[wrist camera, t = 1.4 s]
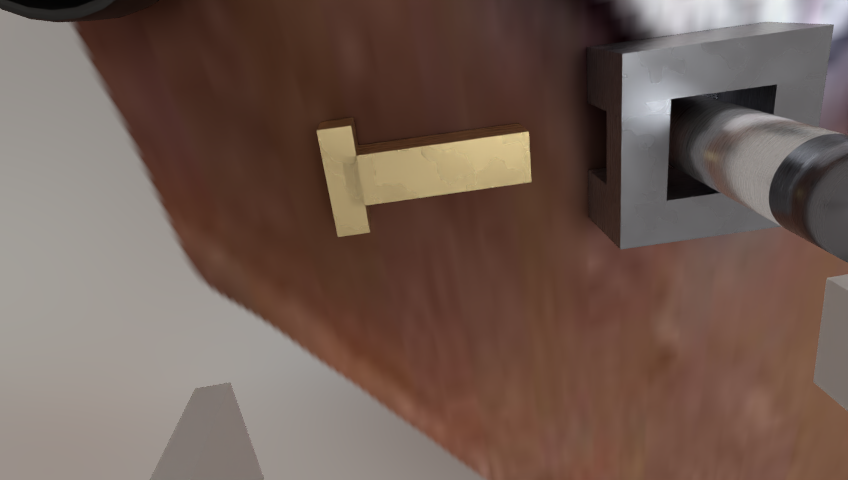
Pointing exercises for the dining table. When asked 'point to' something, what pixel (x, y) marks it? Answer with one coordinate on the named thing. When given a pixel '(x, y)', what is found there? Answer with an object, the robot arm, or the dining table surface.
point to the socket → (650, 120)
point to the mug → (73, 9)
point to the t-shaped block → (415, 167)
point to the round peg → (766, 166)
